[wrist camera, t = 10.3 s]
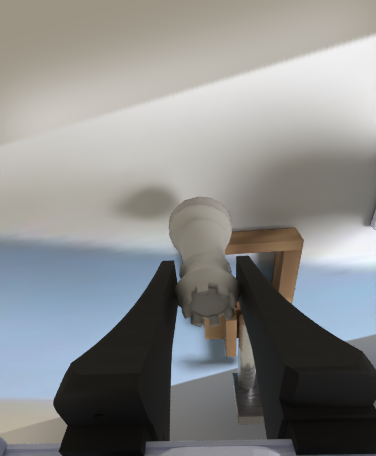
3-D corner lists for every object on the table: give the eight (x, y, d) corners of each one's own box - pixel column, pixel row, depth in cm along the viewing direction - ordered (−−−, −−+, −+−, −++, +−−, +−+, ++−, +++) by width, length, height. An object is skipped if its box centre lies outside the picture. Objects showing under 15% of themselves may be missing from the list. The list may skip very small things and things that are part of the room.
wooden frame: (295, 227, 22) (314, 256, 19) (280, 320, 29) (293, 354, 26) (197, 234, 23) (198, 263, 19) (204, 324, 30) (206, 358, 26)
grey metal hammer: (262, 310, 25) (276, 355, 21) (255, 380, 32) (264, 424, 28) (232, 312, 25) (240, 356, 21) (232, 381, 32) (238, 424, 28)
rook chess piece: (156, 225, 18) (140, 314, 11) (196, 181, 16) (206, 254, 10) (201, 256, 20) (211, 350, 13) (242, 218, 18) (279, 304, 11)
